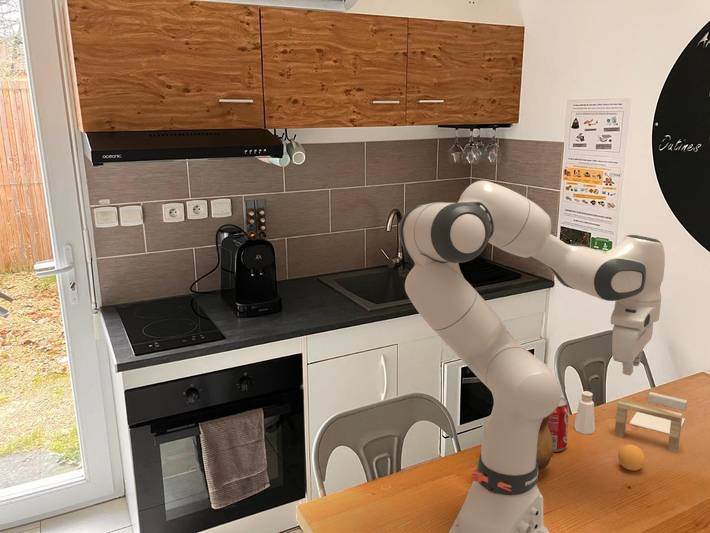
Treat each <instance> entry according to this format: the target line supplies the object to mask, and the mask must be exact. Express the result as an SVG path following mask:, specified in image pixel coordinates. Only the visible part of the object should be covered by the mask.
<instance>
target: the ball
mask: <svg viewBox="0 0 710 533" xmlns="http://www.w3.org/2000/svg"><path fill="white" fill-rule="evenodd" d="M617 460H618V461H619V463H620V465H621V466H622V467H623V468H624V469H626V470H629V471H638V470H640V469H642V468H643V467H644V465H645V462H646V456H645V453H644V451H643V449H641V448H640V447H638V446H636V445H634V444H626V445H623V446H621V448H620V449H619V451H618V453H617Z"/></svg>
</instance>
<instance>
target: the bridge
mask: <svg viewBox="0 0 710 533" xmlns="http://www.w3.org/2000/svg"><path fill="white" fill-rule="evenodd" d="M628 410H629V411H633V412H635V413H636V412H640V413H644V414H648V415H652V416H656V417H660V418H664V419H668V420H671V425H670V434H668V444H667V451H668V452H671V453H675V454H677V453H678V450H679V446H680V438H681V429H682V427H681V423H682V418H683V413H681V412H676V411H673V410H668V409H666V408H665V409H664V408H660V407H657V406H652V405H648V404H645V403H640V402H636V401H632V400H627V399H625V398H624V399H623V398H619V400H618V401H617V404H616V413H615V426H614V437H619V438H622V439H623V438H624V436H625V434H626V429H627V417H628Z"/></svg>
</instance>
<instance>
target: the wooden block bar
mask: <svg viewBox="0 0 710 533" xmlns="http://www.w3.org/2000/svg"><path fill="white" fill-rule="evenodd" d="M647 399H648V400H647V401H648V403H652V404H657V405H660V406H665V407H668V408H673V409H676V410H681V411H686V409H687V404H688V400H687V399H682V398H680V397H679V398H678V397H674V396H670V395H666V394H661V393H656V392H653V391H650V392H649V393H648V398H647Z"/></svg>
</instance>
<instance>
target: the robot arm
mask: <svg viewBox="0 0 710 533" xmlns="http://www.w3.org/2000/svg"><path fill="white" fill-rule="evenodd" d="M551 232H552V220H551V217H550V215H549V214H548V213H547V212H546V211H545V210H544V209H543V208H542V207H541V206H539V205H538V204H537V203H535V202H534V201H532V200H530V199H529V198H527V197H526V196H524V195H522V194H520V193H518V192H516V191H514V190H512V189H510V188H508V187H505V186H503V185H500V184H497V183H494V182H493V181H492V182H491V181H488V180H477V181H475V182H473V183H471V184H470V185H469V186H468V187H466V188H465V190H464V191H463V192H462V193H461V195H460V197H459V200H458V201H457V202H444V201H439V202H431V203H422V204H419V205H417V206H414V207H411V209H409V210H408V211H407V212H405V213H404V215H403V216H402V218H400V222H399V224H398V237H399V240H400V243H401V246H402V247H403V251H404V254H405V255H404V256H405V259H406V261H407V262H408V263H409V264H410V265H412V266H413V267H412V268H411V270H410V271H409V272H408V274H407V276H406V277H405V278H406V279H405V282H404V290H405V293H406V295H407V297H408V299H409V300H410V302H411V304H412V306H414V308H415V310H416V311H417V312H418V313H419V315H420V316H421V317H422V318H423V320H424V321H425V322H426V324H428V326H429V327H430V328H431V329H432V330H433V331H434V333H436V334H437V335H438V336H439V337H440V339H442V341H443V342H444V343H445V344H446V345H447V346H448V347H449V348H450V349H451V350H452V351H453V353H454V354H456V356H457V357H458V358H459V359H460V360H461V361H462V362H463V363H464V364H465V365H466V366H467V367H468V368H469V369H470V371H471V372H472V373H473V374H474V375H475V376H476V377H477V378H478V379H479V380H480V382H482V384H484V385H485V386H486V387H487V389H488V390H489V391H490V392H491V394H492V398H493V406H492V410H491V414H490V415H488V416H487V417H486V418H485V419H484V420H483V423H482V428H481V452H480V455H479V457H478V461H477V463H476V464H477V466H476V470H473V471H472V473H471V476H470V478H471V480H472V484H471V486H470V488H469V491H468V493H467V496H466V498H465V500H464V502H463V504H462V505H461V508H460V510H459V512H458V514H457V516H456V518H455V520H454V522H453V524H452V526H451V527H450V530H448V533H550V531H549V529H548V528H547V527H546V526H545V525H544V497H543V494H542V493H541V492H540V489H539V488H538V485H537V483H538V479H539V478H538V476H539V472H538V463H537V461H536V455H537V442H538V433H539V429H540V425H541V423H542V420H543V418H545V417H547V416H549V415H550V414H551V413H553V412H554V411H555V409H556V408H557V407H558V405H559V403H560V400H561V397H562V387H561V383H560V382H559V380H558V378H557V377H556V375H555V373H553V371H552V370H551V368H550V366H548V365H547V364H546V363H544V362H543V361H542V360H540V359H539V358H538V357H536V356H535V355H534V354H532V353H531V351H529V350H527V348H525V347H524V346H523V345H522V344H520V342H518V340H516V338H514V336H513V335H512V333H510V332H509V330H508V328H506V326H505V324H503V322H502V319H501V318H500V316H499V315H498V314H497V312H496V311H495V310H493V308H492V307H491V306H490V305H489V303H488V302H487V301H486V300H485V299H484V298H483V297H482V296H481V295H480V294H479V292H478V291H477V290H476V289H475V288H474V287H473V285H472V284H470V283H469V281H467V280H466V278H465V277H464V275H463V273H462V271H461V269H460V265H459V264H461V263H466V262H469V261H473V260H474V259H476V258H477V257H478V256H480V254H482V252H483V251H484V250H485V248H486V247H487V245H488V244H491V245H492V246H494V247H496V248H497V249H499V250H502V251H503V252H506V253H508V254H511V255H513V256H518V257H520V258H525V259H527V258H532V259H534V260H537V261H538V262H539V263H542V264H543V265H545V266H546V267H548V268H549V269H550V270H551V271H552V273H553V275H554V276H555V277H556V279H557V280H558V281H559V283H560V284H562V285H563V286H565V287H567V288H570V289H573V290H576V291H580V292H582V293H585V294H586V295H590V296H592V297H595V298H597V299H600V300H603V301H607V302H608V301H609V302H613V301H614V307H613V308H614V309H613V311H612V313H611V316H610V324H611V325H613V327H612V337H611V338H612V341H611V342H612V343H611V350H612V351H611V354H612V358H613V361H615V362H618V363H621V365H622V374H623V375H625V376H631V375H632V374H633V372H634V367H639V365H640V364H641V357H642V356H643V351H644V348H645V347H646V345H647V344H648V343H649V342H650V341H651V340H652V336H653V334H654V333H653V331H654V323H656V322H658V321H659V320H660V313H661V302H662V294H661V286H662V283H663V281H664V276H665V265H666V264H665V263H666V261H665V259H666V258H665V254H666V253H665V249H664V245H663V243H662V242H661V241H660V240H658V239H656V238H652V237H649V236H643V235H637V234H629V235H625V236H624V238H623V239H622V241H621V242H620V243H618V244H617V245H615V246H614V247H612V248H610V249H609V250H605V251H602V250H598V249H596V248H595V249H594V248H592V247H589V246H588V245H587V246H586V245H584V244H579V243H567V242H566V243H565V242H564V241H562V240H561V239H559V238H558V237H556V236H555V235H553V234H551Z"/></svg>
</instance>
